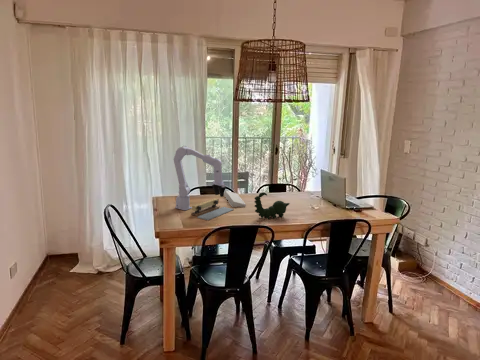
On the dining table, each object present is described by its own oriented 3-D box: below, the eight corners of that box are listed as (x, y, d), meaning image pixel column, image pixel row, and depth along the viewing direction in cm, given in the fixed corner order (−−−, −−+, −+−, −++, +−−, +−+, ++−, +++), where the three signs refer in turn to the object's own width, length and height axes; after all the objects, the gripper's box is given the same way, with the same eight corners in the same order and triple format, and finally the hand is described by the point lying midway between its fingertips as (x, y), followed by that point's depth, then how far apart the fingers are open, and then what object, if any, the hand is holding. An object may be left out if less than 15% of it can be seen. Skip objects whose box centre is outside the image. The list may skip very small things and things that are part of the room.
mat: (197, 217, 233) (197, 216, 233) (223, 207, 258) (223, 206, 258) (207, 220, 228) (207, 219, 228) (233, 209, 253) (233, 209, 253)
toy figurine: (258, 223, 232) (293, 217, 239) (257, 195, 227) (292, 190, 235) (253, 218, 240) (286, 213, 248) (252, 191, 236) (286, 186, 244)
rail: (192, 210, 237) (192, 205, 236) (215, 202, 259) (215, 198, 258) (195, 211, 235) (195, 206, 235) (218, 202, 257) (218, 198, 256)
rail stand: (191, 214, 239) (191, 205, 238) (212, 206, 259) (212, 198, 258) (198, 216, 236) (198, 207, 235) (219, 208, 256) (219, 200, 255)
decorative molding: (235, 198, 295) (223, 196, 293) (236, 193, 295) (225, 190, 292) (244, 210, 263) (231, 207, 260) (246, 204, 262) (233, 201, 259)
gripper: (228, 177, 242) (229, 196, 245) (218, 174, 254) (219, 192, 257) (219, 178, 239) (220, 198, 241) (209, 175, 251) (210, 194, 254)
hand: (219, 195), depth 249 cm, fingers open, 7 cm apart
